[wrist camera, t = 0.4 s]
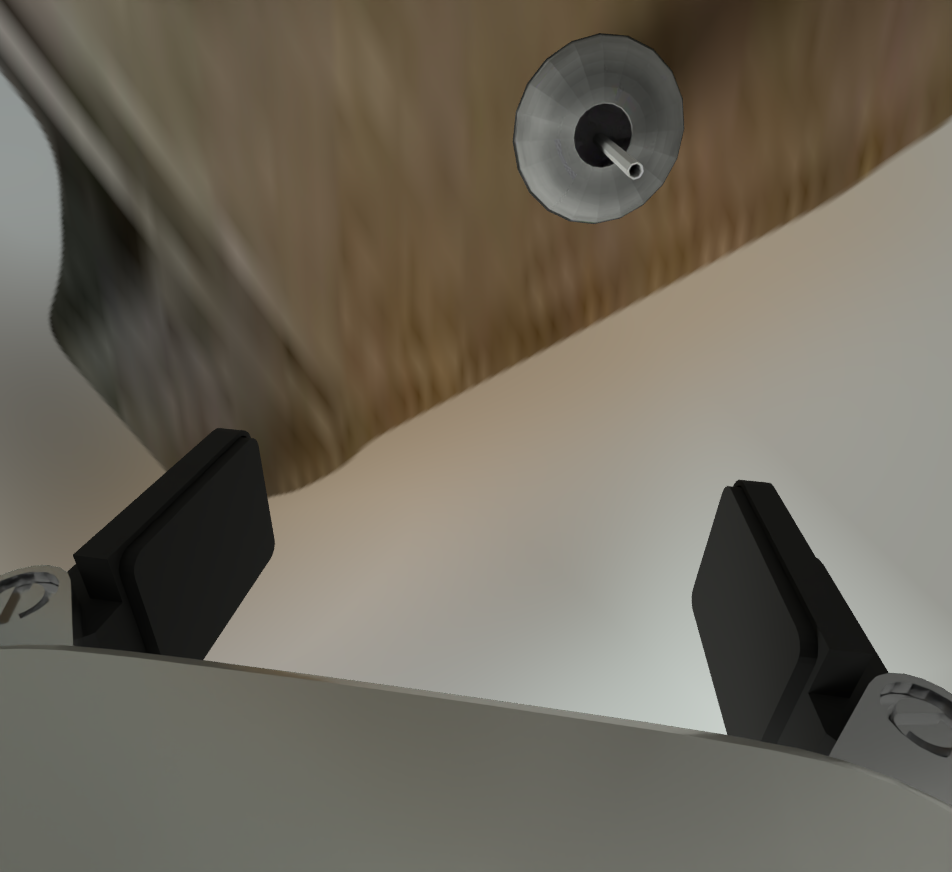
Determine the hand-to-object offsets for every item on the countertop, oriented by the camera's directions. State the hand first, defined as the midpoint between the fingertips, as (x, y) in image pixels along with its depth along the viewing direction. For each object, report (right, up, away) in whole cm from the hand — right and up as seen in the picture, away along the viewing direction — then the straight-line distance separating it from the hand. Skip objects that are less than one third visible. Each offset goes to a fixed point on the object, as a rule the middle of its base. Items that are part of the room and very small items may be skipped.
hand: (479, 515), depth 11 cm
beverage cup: (+7, +20, +23) cm, 32 cm away
